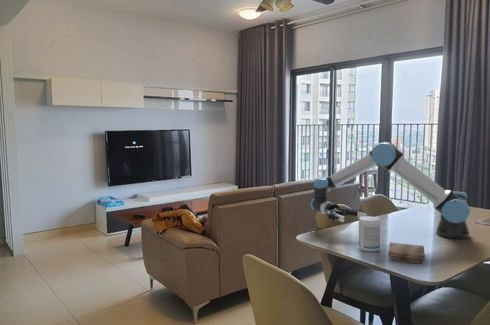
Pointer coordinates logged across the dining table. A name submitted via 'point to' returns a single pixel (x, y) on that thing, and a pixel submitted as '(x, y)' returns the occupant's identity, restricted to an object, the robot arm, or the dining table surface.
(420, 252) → the walnut stand
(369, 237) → the supplement tub
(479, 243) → the dining table surface
